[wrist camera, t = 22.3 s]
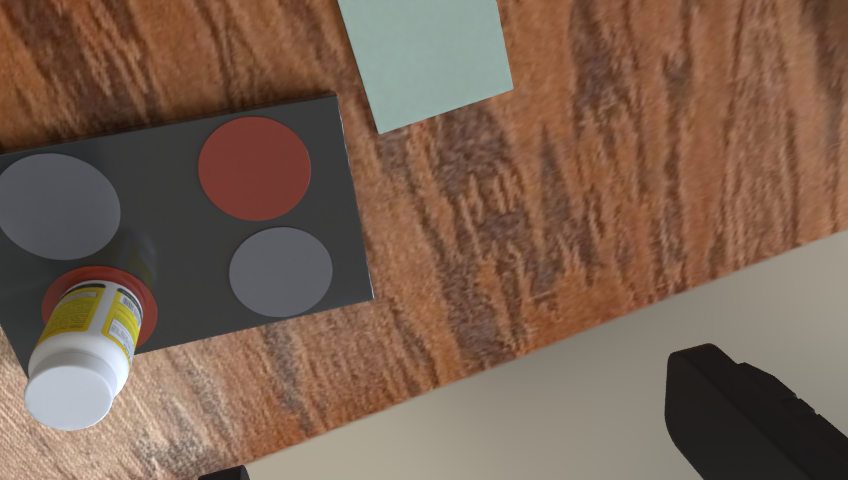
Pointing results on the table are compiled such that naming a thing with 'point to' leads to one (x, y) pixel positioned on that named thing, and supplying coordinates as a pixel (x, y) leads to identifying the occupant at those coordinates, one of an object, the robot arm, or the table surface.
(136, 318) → the supplement bottle
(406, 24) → the cloth
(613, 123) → the table surface
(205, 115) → the hob
